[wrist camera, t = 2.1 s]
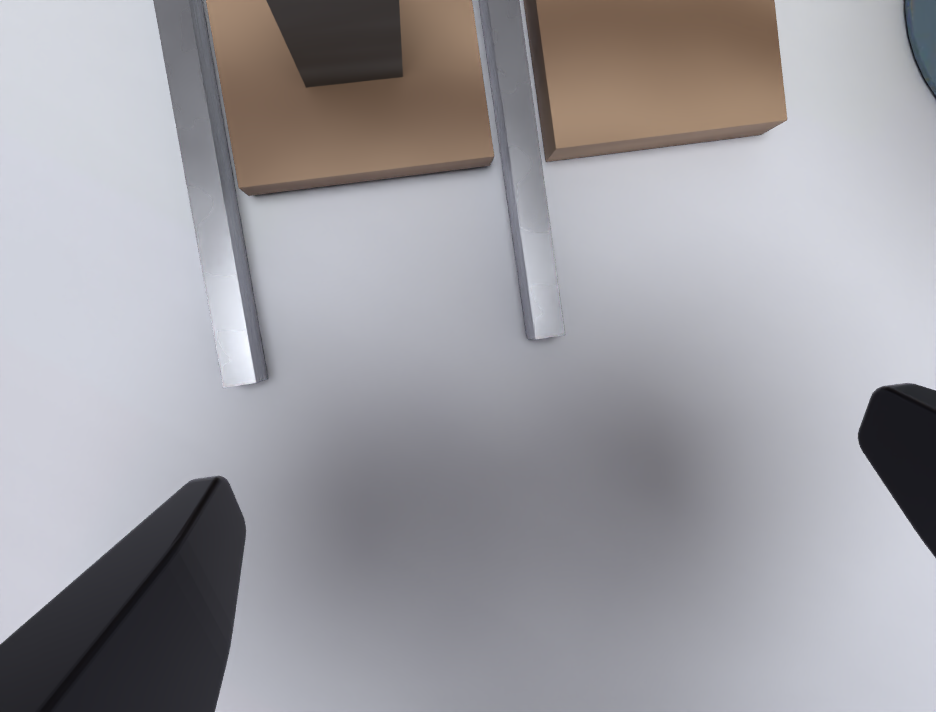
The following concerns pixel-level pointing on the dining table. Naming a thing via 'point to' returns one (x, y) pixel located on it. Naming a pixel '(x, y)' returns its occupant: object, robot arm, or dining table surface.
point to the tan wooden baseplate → (349, 90)
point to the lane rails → (218, 199)
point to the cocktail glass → (923, 36)
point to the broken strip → (653, 73)
